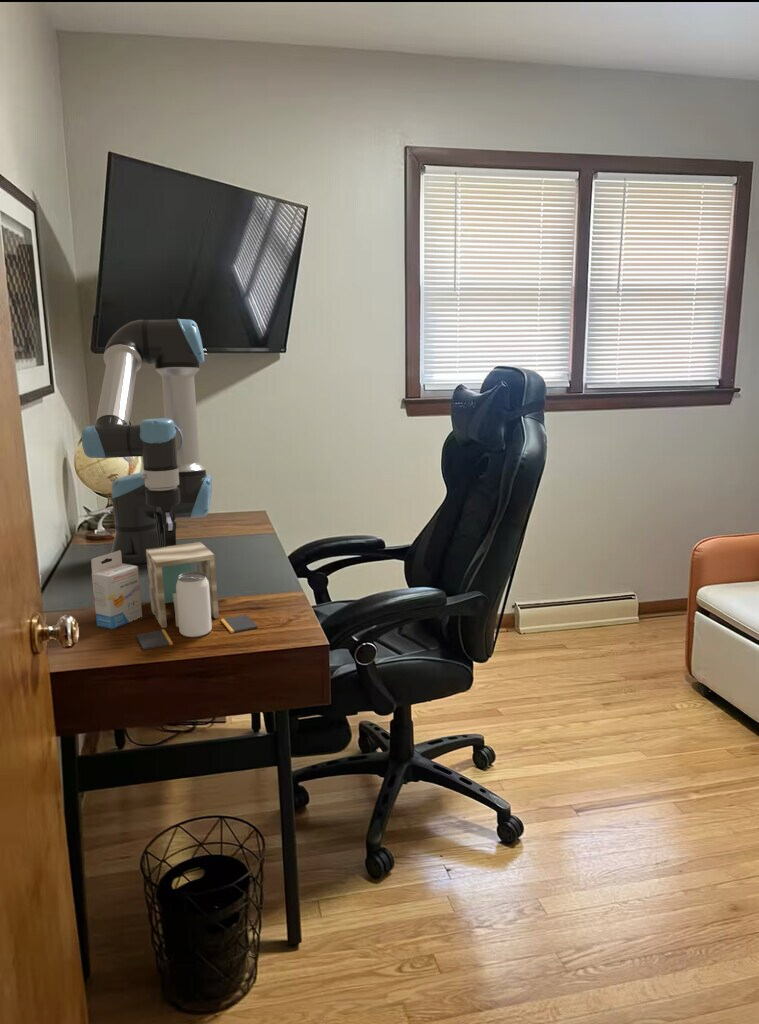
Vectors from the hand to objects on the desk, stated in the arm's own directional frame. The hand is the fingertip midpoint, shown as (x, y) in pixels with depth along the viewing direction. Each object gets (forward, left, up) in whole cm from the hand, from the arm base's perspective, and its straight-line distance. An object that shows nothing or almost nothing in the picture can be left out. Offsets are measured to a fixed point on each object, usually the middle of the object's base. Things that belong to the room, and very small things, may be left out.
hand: (170, 586), depth 174 cm
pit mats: (+24, -6, -3) cm, 25 cm away
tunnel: (+13, -3, -3) cm, 13 cm away
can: (+24, -7, -3) cm, 25 cm away
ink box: (+7, -15, -3) cm, 17 cm away
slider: (+12, -3, -2) cm, 13 cm away
